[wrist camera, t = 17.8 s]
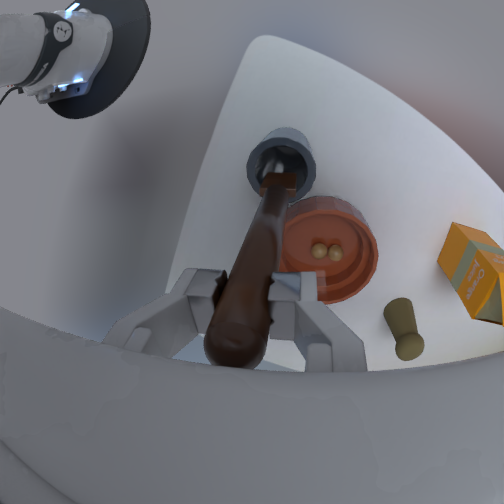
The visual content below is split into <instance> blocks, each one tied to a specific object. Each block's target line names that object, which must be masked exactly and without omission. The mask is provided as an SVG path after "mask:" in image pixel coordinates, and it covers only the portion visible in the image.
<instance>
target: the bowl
mask: <svg viewBox="0 0 504 504" xmlns="http://www.w3.org/2000/svg"><path fill="white" fill-rule="evenodd" d="M317 243H322V244H324V245H325V246H326V248H327V255H326V256H325V257H324V258H323V259H316V258H314V257H313V256H312V253H311V249H312V247H313V246H314V245H315V244H317ZM332 245H339V246H340V247H341V248H342V249H343V252H344V253H343V257H342V258H341V259H340V260H339V261H333V260H331V259H330V258H329V257H328V249H329V248H330V247H331V246H332ZM377 261H378V249H377V243H376V239H375V237H374V235H373V233H372V231H371V229H370V227H369V225H368V223H367V222H366V220H365V218H364V217H363V215H362V214H361V212H360V211H359V210H357V209H356V208H355V207H353V206H352V205H351V204H350V203H348V202H346V201H343V200H340V199H337V198H334V197H312V198H309V199H305V200H302V201H299V202H297V203H296V204H294V205H293V206H291V207H290V208H288V209H287V216H286V223H285V230H284V238H283V245H282V252H281V259H280V266H279V272H309V271H315V272H316V281H317V301H322V302H323V303H324V304H333V303H337V302H341V301H344V300H346V299H348V298H350V297H352V296H354V295H356V294H357V293H358V292H359V291H361V290H362V289H363V288H364V287H365V286H366V285H367V284H368V283H369V281H370V279H371V278H372V276H373V274H374V272H375V271H376V266H377Z"/></svg>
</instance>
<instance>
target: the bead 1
mask: <svg viewBox="0 0 504 504" xmlns="http://www.w3.org/2000/svg"><path fill="white" fill-rule="evenodd" d="M311 253H312V256H313V257H314V258H316V259H323V258H324V257H325V256H326V255H327V248H326V246H325V245H324V244H322V243H317V244H315V245H314V246H313V247H312V249H311Z"/></svg>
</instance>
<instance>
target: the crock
mask: <svg viewBox="0 0 504 504" xmlns="http://www.w3.org/2000/svg"><path fill="white" fill-rule="evenodd" d="M268 172H288V173H297V182H296V197H289V200H288V203H290V202H293V201H296V200H298V199H301V198H302V197H303V196H304V195H305V194H306V193H307V192H309V191H310V189H311V188H312V185H313V183H314V181H315V177H316V164H315V160H314V157H313V153H312V150H311V147H310V144H309V142H308V140H307V138H306V137H305V136H304V135H303V134H302V133H301V132H300V131H298V130H296V129H293V128H289V127H282V128H278V129H276V130H274V131H272V132H270V133H269V134H268V135H267V136H266V137H265V138H264V139H263V140H262V141H261V142H260V143H259V144H258V145H257V147H256V148H255V149H254V150H253V151H252V152H251V153H250V156H249V159H248V162H247V178H248V180H249V182H250V184H251V186H252V188H253V189H254V191H255V192H257V193H258V194H259V188H260V186H261V184H262V182H263V181H264V179H265V177H266V175H267V173H268ZM261 197H262V198H263V196H261Z"/></svg>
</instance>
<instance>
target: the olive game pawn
mask: <svg viewBox="0 0 504 504" xmlns="http://www.w3.org/2000/svg"><path fill="white" fill-rule="evenodd" d="M384 317H385V319H386V321H387V323H388V326H389V328H390V330H391V332H392V334H393V336H394V339H395V341H396V346H395V351H396V354H397V356H398V358H400V359H401V360H403V361H409V360H413V359H415V358H417V357H418V356H419V355H420V354H421V353H422V352H423V349H424V340H423V338H422V337H421V336H420V334H418V331H417V325H416V320H415V315H414V310H413V306H412V302H411V301H410V300H409V299H407V298H398V299H395V300H393V301H391V302H390V303H389V304H388V305H387V306H386V307H385V309H384Z"/></svg>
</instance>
